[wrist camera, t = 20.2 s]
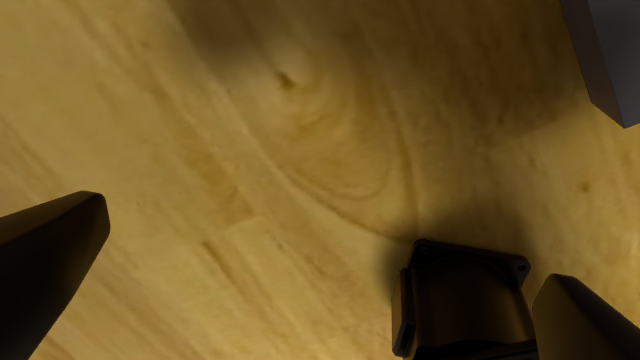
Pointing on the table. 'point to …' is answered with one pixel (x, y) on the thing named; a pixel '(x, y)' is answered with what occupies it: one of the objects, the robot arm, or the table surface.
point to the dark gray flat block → (608, 54)
